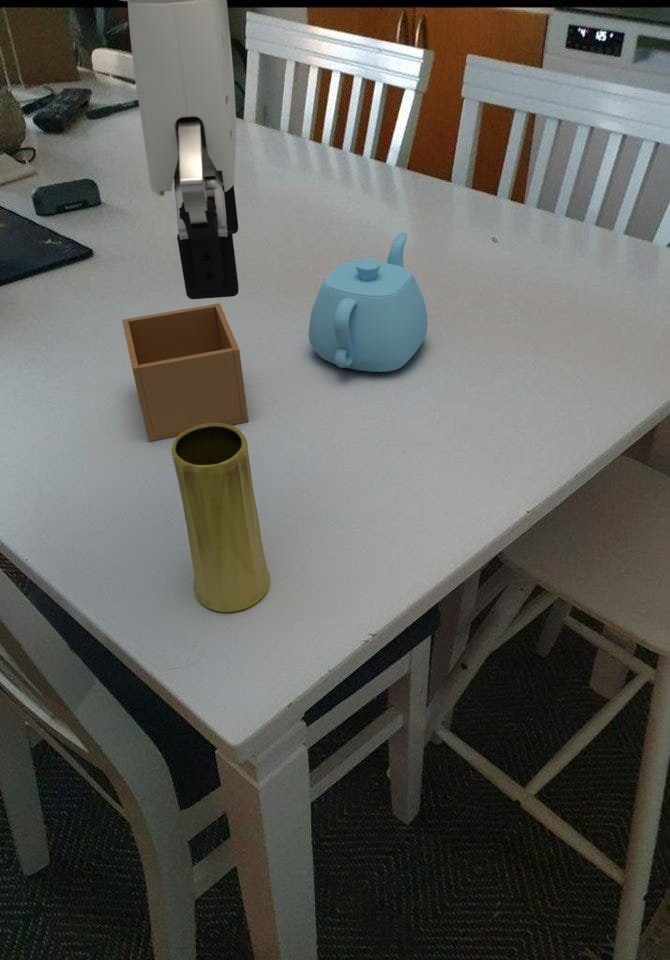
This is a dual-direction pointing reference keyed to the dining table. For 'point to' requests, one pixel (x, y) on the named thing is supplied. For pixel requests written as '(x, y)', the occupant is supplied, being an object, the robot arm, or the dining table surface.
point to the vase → (221, 516)
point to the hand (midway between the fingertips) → (214, 262)
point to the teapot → (369, 314)
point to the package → (186, 370)
